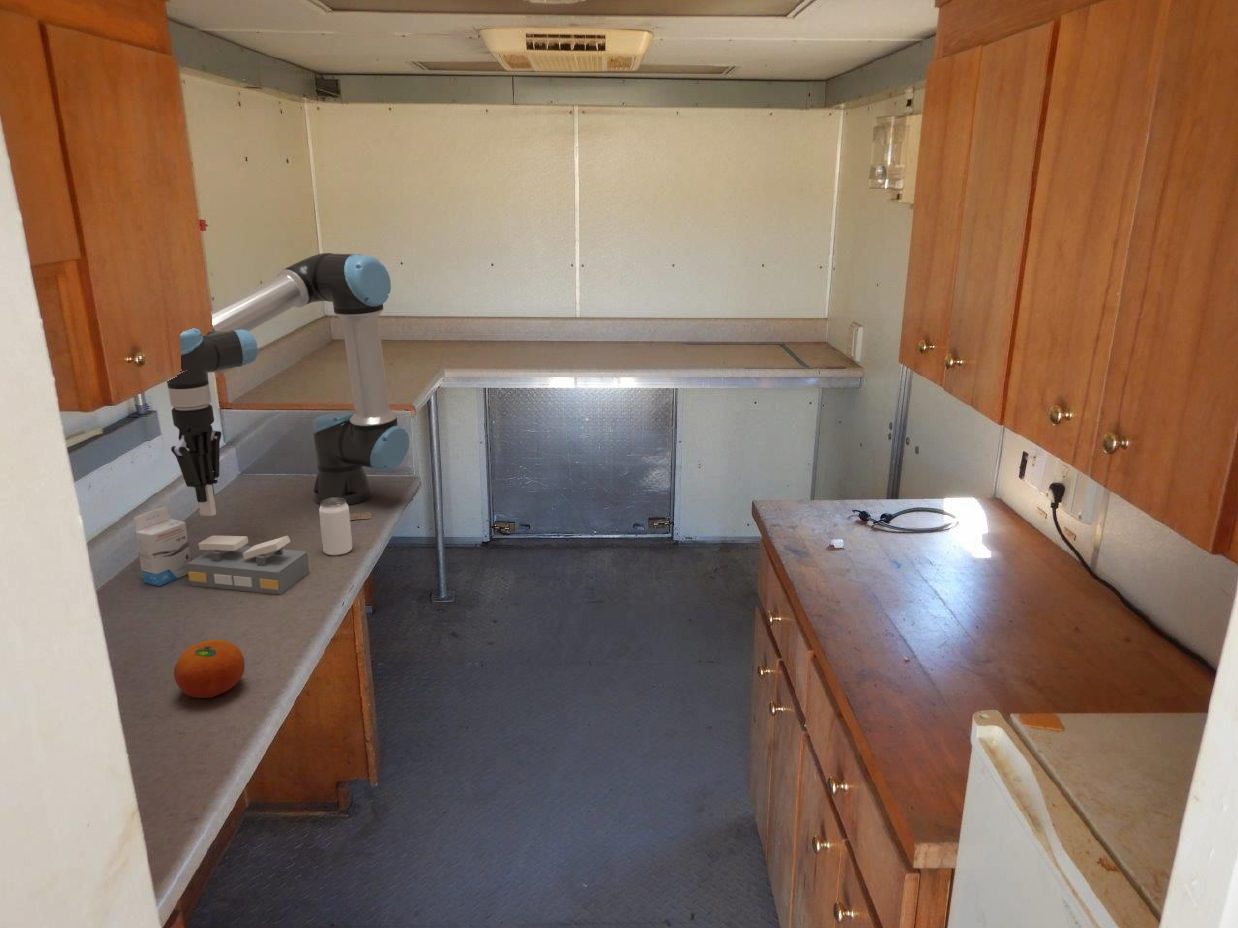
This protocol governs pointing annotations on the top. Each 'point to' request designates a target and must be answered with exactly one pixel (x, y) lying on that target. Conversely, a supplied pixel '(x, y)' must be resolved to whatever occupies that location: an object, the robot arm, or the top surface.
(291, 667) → the top surface
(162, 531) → the ink box
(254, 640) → the top surface
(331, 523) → the can
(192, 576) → the switch unit
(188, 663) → the fruit
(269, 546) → the rocker
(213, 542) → the rocker
